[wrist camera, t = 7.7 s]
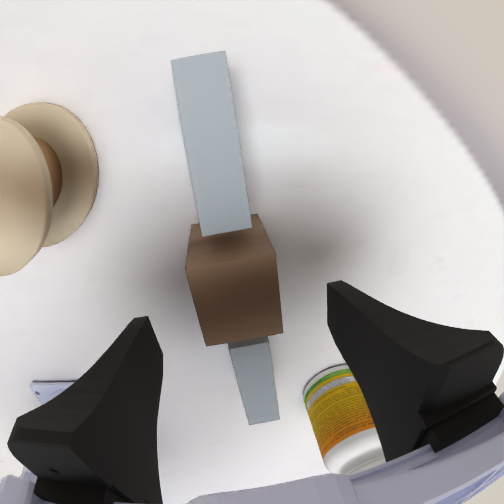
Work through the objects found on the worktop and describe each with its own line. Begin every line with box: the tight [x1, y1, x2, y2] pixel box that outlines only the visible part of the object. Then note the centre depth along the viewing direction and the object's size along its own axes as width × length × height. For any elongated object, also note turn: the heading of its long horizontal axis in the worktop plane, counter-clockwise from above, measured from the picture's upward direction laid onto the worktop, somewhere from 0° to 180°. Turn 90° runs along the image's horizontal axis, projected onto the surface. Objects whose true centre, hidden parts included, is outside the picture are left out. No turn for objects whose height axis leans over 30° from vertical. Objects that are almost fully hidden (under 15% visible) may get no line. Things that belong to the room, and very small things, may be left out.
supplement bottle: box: [303, 365, 386, 476], centre depth 19 cm, size 5×5×10 cm
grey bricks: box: [171, 51, 280, 425], centre depth 16 cm, size 20×2×4 cm, turn 8°
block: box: [185, 214, 283, 346], centre depth 15 cm, size 4×4×5 cm
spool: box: [0, 103, 98, 276], centre depth 12 cm, size 8×8×5 cm
